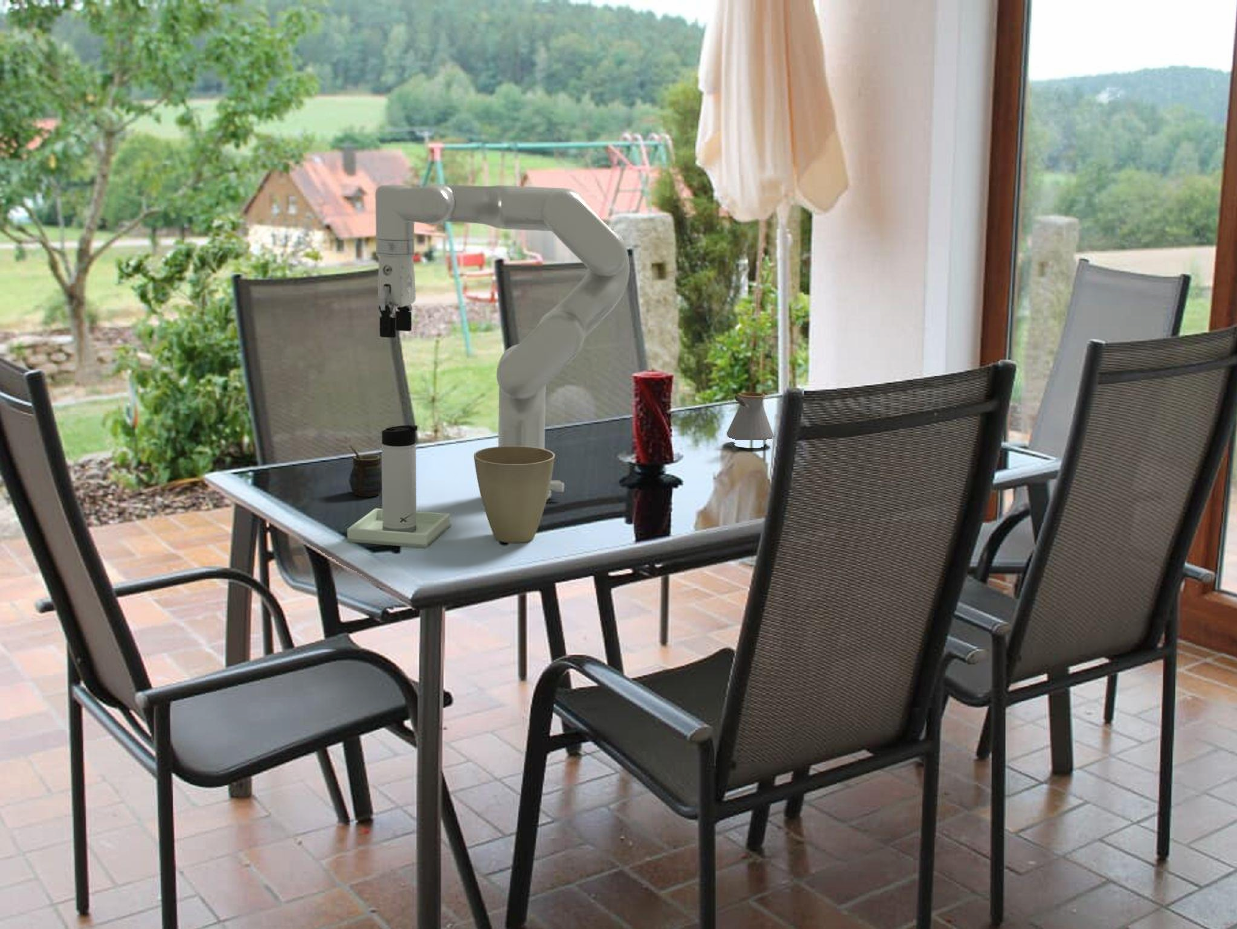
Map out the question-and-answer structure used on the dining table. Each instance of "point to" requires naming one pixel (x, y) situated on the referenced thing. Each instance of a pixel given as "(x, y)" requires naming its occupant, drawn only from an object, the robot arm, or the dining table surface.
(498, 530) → the plant pot
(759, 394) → the coffee pot
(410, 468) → the travel mug
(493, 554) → the dining table surface
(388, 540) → the tray
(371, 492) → the mate gourd
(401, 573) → the dining table surface
